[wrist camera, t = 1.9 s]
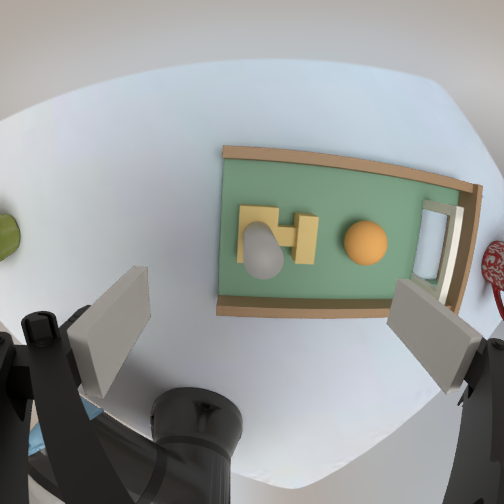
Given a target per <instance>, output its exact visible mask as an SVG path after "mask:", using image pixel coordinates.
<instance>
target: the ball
mask: <svg viewBox="0 0 504 504" xmlns="http://www.w3.org/2000/svg"><path fill="white" fill-rule="evenodd" d="M387 246H388V241H387V236H386V233H385V231H384V230H383V229H382V227H381V226H380V225H378V224H377V223H375V222H372V221H367V220H365V221H359V222H357V223H355V224H353V225H352V226H351V227H350V228H349V229H348V231H347V233H346V235H345V239H344V247H345V251H346V253H347V255H348V257H349V258H350V259H351V260H352V261H353V262H355V263H357V264H359V265H364V266H368V265H373V264H375V263H377V262H379V261H380V260H381V259H382V258H383V256H384V255H385V253H386V250H387Z"/></svg>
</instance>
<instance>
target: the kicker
mask: <svg viewBox="0 0 504 504" xmlns="http://www.w3.org/2000/svg"><path fill="white" fill-rule="evenodd" d="M278 216H279V208H278V207H277V206H267V205H251V204H240V212H239V231H238V250H237V263H244V267H245V269H246V271H247V272H248V273H249V274H250V275H251V276H253V277H255V278H257V279H269V278H272V277H274V276H275V275H277V274H278V273H279V272H280V270H281V269H282V267H283V264H284V256H283V252H282V250H281V248H280V246H291V257H292V259H293V261H294V263H295V264H314V258H315V249H316V240H317V231H318V221H319V217H318V216H316V215H314V214H313V213H302V212H295V213H294V224H293V226H291V225H278Z"/></svg>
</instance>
